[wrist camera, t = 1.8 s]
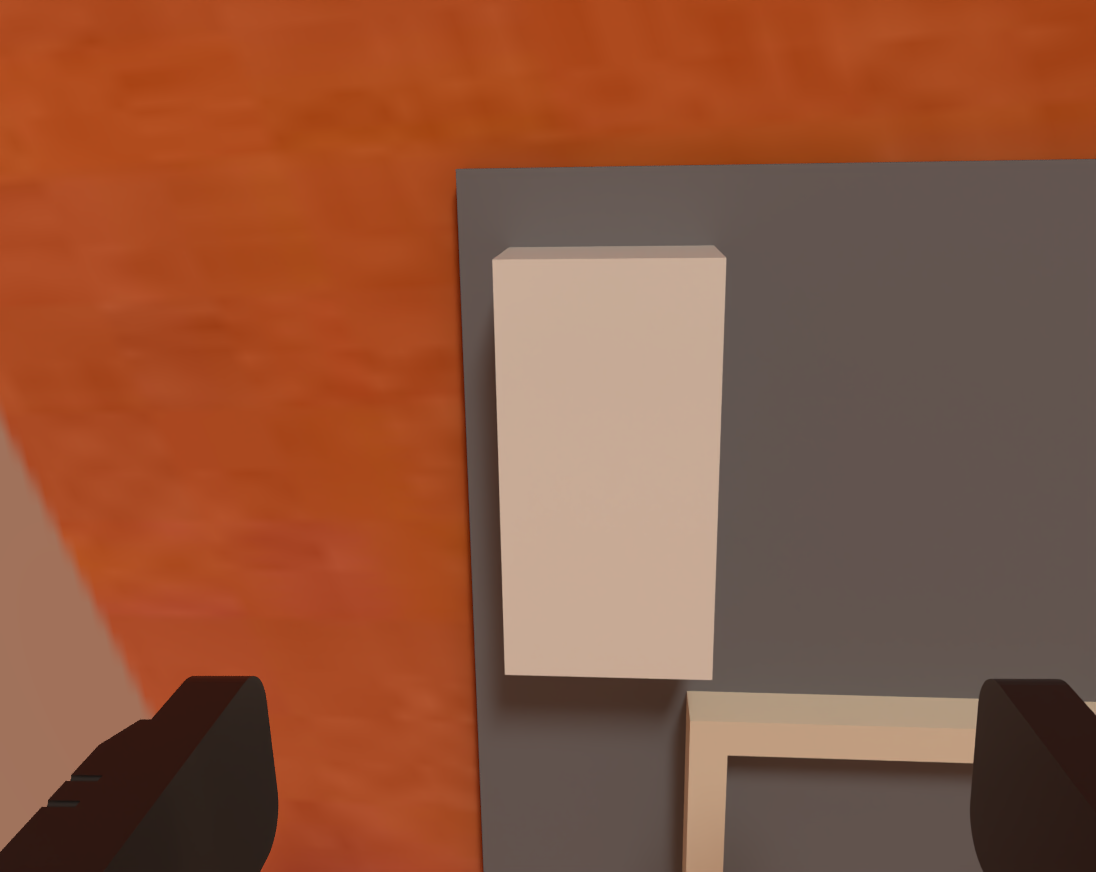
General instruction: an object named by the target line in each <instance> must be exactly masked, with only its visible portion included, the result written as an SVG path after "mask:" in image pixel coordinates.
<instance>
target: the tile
mask: <svg viewBox="0 0 1096 872" xmlns="http://www.w3.org/2000/svg"><path fill="white" fill-rule="evenodd" d="M492 268H493V300H494V333H495V366H496V399H497V432H498V464H499V497H500V530H501V563H502V596H503V628H504V661H505V675H532V676H571V677H609V678H648V679H686V680H712V673H713V643H714V613H715V584H716V554H717V524H718V494H719V464H720V435H721V405H722V375H723V345H724V315H725V286H726V257H725V256H724V255H723V254H722V253H721V252H720V251H719V250H718V249H717V248H716V247H715V246H714V245H701V246H590V247H509V248H507V249H506V250H505V251H503V252H502V253H501V254H499V255H498V256H496V257H495V258H494V259H492Z"/></svg>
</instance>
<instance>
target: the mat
mask: <svg viewBox="0 0 1096 872" xmlns="http://www.w3.org/2000/svg"><path fill="white" fill-rule="evenodd" d="M456 186H457V211H458V237H459V262H460V287H461V313H462V338H463V363H464V389H465V414H466V439H467V465H468V490H469V515H470V541H471V566H472V591H473V617H474V642H475V667H476V693H477V718H478V743H479V769H480V794H481V819H482V845H483V870H484V872H983V870H982V868H981V866H980V863H979V861H978V858H977V855H976V851H975V847H974V843H973V838H972V832H971V824H970V797H971V785H972V773H973V760H974V748H975V736H976V724H977V711H978V701H979V694H980V690H981V687H982V685H983V683H984V682H985V681H986V680H987V679H1062V680H1063V681H1065V682H1066V683H1067V684H1069V685H1070V687H1071V688H1072V689H1073V690H1074V691H1075V692H1076V693H1077V694H1078V696H1079V697H1080V698H1081V699H1082V700H1083V701H1084V702H1085V703H1086V705H1087V706H1088V707H1089V708H1090V709H1091V710H1092V711H1093V712H1094V713H1095V715H1096V159H1070V160H1005V161H941V162H876V163H812V164H747V165H683V166H619V167H554V168H490V169H456ZM701 245H714V246H715V247H716V248H717V249H718V250H719V251H720V252H721V253H722V254H723V255H724V256H725V257H726V286H725V315H724V345H723V375H722V405H721V435H720V464H719V494H718V524H717V554H716V584H715V613H714V643H713V673H712V680H686V679H648V678H609V677H571V676H532V675H505V661H504V628H503V596H502V563H501V530H500V497H499V464H498V432H497V399H496V366H495V333H494V300H493V268H492V259H494V258H495V257H496V256H498V255H499V254H501V253H502V252H503V251H505V250H506V249H507V248H509V247H590V246H701Z"/></svg>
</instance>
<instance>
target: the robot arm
mask: <svg viewBox="0 0 1096 872" xmlns="http://www.w3.org/2000/svg"><path fill="white" fill-rule="evenodd" d="M277 818H278V792H277V783H276V775H275V767H274V758H273V750H272V742H271V734H270V725H269V717H268V709H267V700H266V694H265V690H264V687H263V684H262V682H261V681H260V679H259V678H258V677H255V676H191V677H189V678H187V679H186V680H185V681H184V682H183V684H182V685H181V686H180V687H179V688H178V689H177V690H176V692H175V693H174V694H173V695H172V696H171V697H170V698H169V700H168V701H167V702H166V703H165V704H164V705H163V707H162V708H161V709H160V710H159V711H158V712H157V713H156V715H155V716H154V717H153V718H152V719H151V720H139V721H137V722H135V723H134V724H132V725H131V726H129V727H127V728H126V729H124V730H123V731H121V732H119V733H118V734H116V735H114V736H113V737H111V738H110V739H108V740H106V741H105V742H103V743H101V744H100V745H99V746H98V747H97V748H96V749H95V750H94V751H93V752H92V753H91V754H90V755H89V757H87V759H86V760H85V761H84V762H83V763H82V764H81V765H80V766H79V767H78V768H77V770H75V772H74V773H73V774H72V775H71V781H65V782H64V784H63V785H62V786H61V787H60V788H59V789H58V790H57V791H56V792H55V793H54V794H53V795H52V797H51V798H50V799H49V800H48V805H47V807H41V809H39V811H38V812H37V813H36V814H35V815H34V816H33V817H32V818H31V819H30V820H29V822H28V823H27V824H26V825H25V826H24V827H23V828H22V829H21V830H20V831H19V832H18V833H17V834H16V836H15V837H14V838H13V839H12V840H11V841H10V842H9V843H8V844H7V845H6V847H4V849H3V850H2V851H1V852H0V872H260V871H261V869H262V867H263V865H264V863H265V861H266V859H267V857H268V855H269V853H270V850H271V847H272V844H273V841H274V837H275V832H276V826H277ZM970 824H971V832H972V838H973V843H974V847H975V851H976V855H977V858H978V861H979V863H980V866H981V868H982V870H983V872H1096V715H1095V713H1094V712H1093V711H1092V710H1091V709H1090V708H1089V707H1088V706H1087V705H1086V703H1085V702H1084V701H1083V700H1082V699H1081V698H1080V697H1079V696H1078V694H1077V693H1076V692H1075V691H1074V690H1073V689H1072V688H1071V687H1070V685H1069V684H1067V683H1066V682H1065V681H1063V680H1062V679H987V680H986V681H985V682H984V683H983V685H982V687H981V690H980V694H979V701H978V711H977V724H976V736H975V748H974V760H973V773H972V785H971V797H970Z"/></svg>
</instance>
